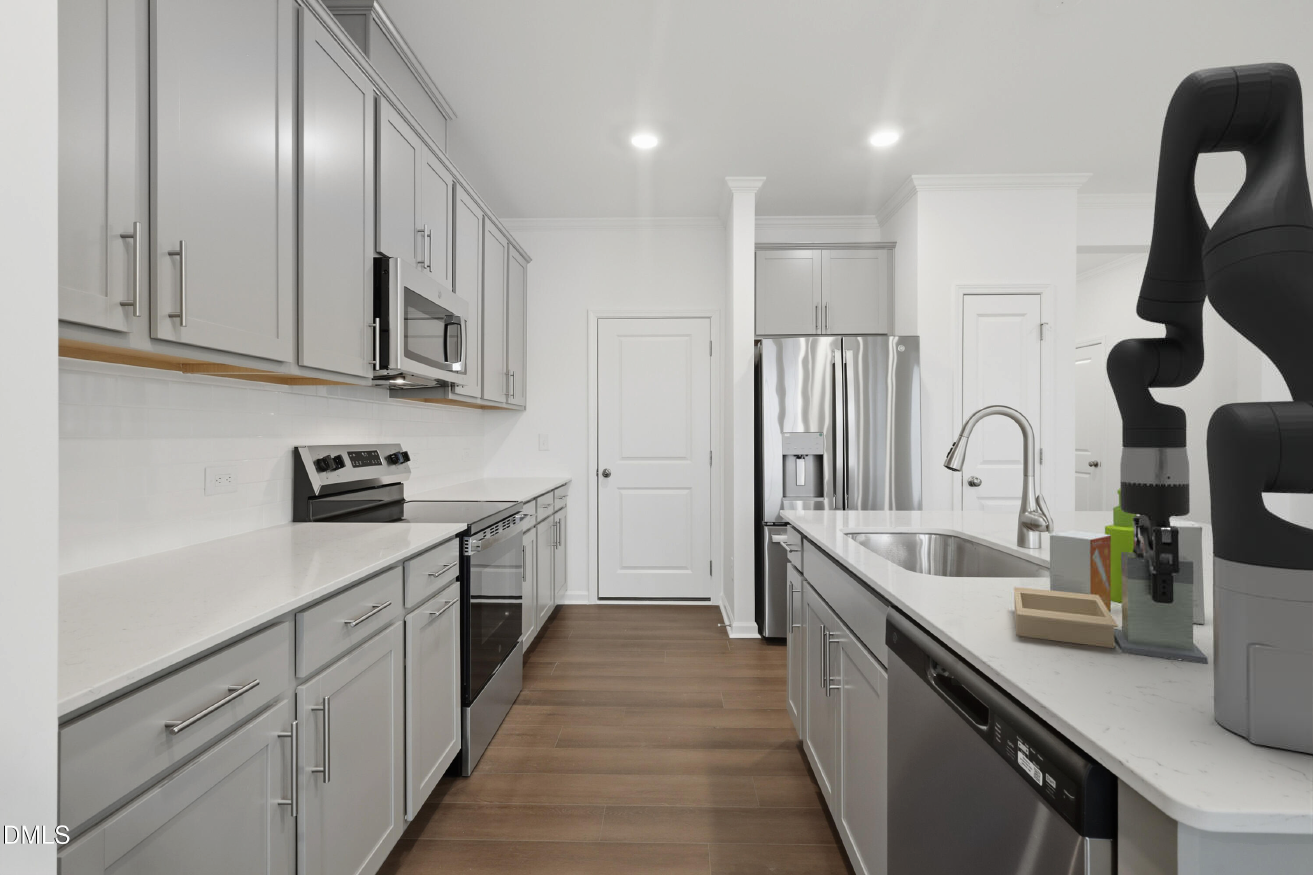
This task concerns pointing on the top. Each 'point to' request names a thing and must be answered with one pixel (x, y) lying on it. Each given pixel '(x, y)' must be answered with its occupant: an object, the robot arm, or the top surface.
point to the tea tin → (1156, 605)
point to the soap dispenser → (1119, 546)
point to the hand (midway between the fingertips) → (1154, 595)
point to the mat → (1158, 650)
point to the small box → (1081, 564)
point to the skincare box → (1193, 551)
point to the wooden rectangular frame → (1063, 617)
